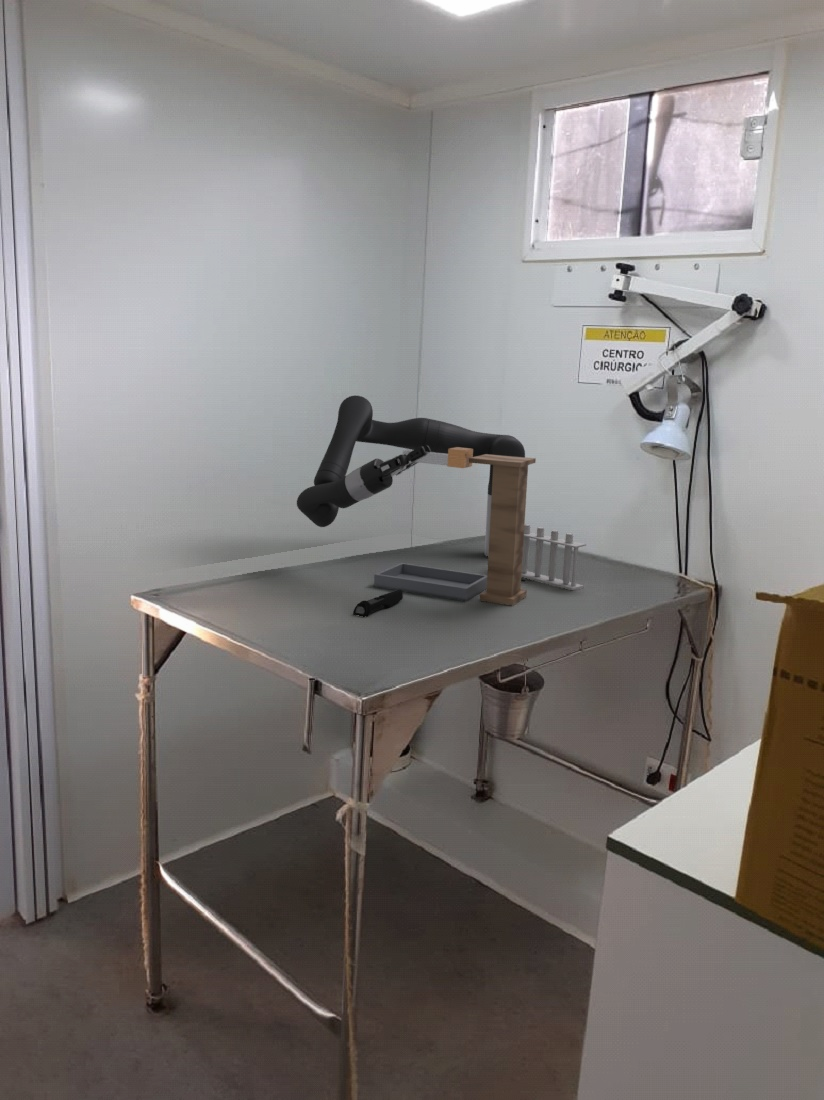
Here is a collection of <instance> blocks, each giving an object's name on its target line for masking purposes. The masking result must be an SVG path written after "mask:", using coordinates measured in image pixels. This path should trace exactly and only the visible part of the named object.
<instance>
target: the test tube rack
mask: <svg viewBox="0 0 824 1100" xmlns="http://www.w3.org/2000/svg"><path fill="white" fill-rule="evenodd" d="M559 534H560V533H559V530H557V529H552V530H551V532H550V535H545V528H544V527H543V526H538V527H537V528H536V533H535V532H531V524H529V523H527V524H524V541H523V557H522V573H521V578H522V577H524V578H523V579H525V578H527V579H526V580H529V579H530V580H529V581H533V580H535V581H534V582H537V581H538V583H540V582H542V583H541V584H544V583H546V584H545V585H548V584H549V586H551V585H553V586H552V587H555V586H557V587H556V588H559V587H561V588H560V589H563V588H565V589H564V590H566V589H569V590H568V591H570V590H574V591H578V590H581V589H580V588H582V589H584V584H583V585H582V584H580V583H577V582H576V578H577V577H576V576H577V566H578V565H577V564H578V563H577V561H578V551H579V548H580V547H581V548H582V547H586V546H587V544H586V543H582V542H578V541H573V540H574V534H573V533H571V532H567V533H566V534H565V539H564V538H559ZM530 539H534V540H535V542H536V543H535V556H534V572H532V571H529V569H528V568H529V567H528V566H529V555H530V554H529V552H530ZM544 542H547V543H549V558H548V559H549V560H548V574H547V575H545V574H542V569H543V568H542V567H543V554H544V553H543V551H544ZM558 545H561V546H564V555H563V556H564V557H563V570H562V571H563V572H562V579H560V578H557V577H556V574H557V573H556V571H557V557H558ZM572 555H573V559H572ZM572 560H573V563H572ZM571 569H572V575H571ZM570 580H571V581H570ZM577 589H578V590H577Z"/></svg>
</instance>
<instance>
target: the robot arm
mask: <svg viewBox="0 0 824 1100" xmlns="http://www.w3.org/2000/svg"><path fill="white" fill-rule="evenodd" d="M338 408H339V409H338V412H337V413H338V414H337V420H336V424H335V428H334V431H333V434H332V437H331V440H330V442H329V444H328V445H327V446H328V447H327V449H326V451H325V453H324V456H323V458H322V460H321V462H320V465H319V467H318V469H317V471H316V473H315V476H314V479H313V486H309V487H307V488H305V489H303V490H302V492H301V493H299V495H298V497H297V499H296V507H297V509H298V510H299V511H300V512H301V513H302V514H303V515H304V516H305V517H306V518H308V519H309V520H310V521H311V522H312V523H313V524H314V525H315V526H317V527H319V528H326V527H328V526H329V525H331V524H333V522H334V521H335V520H336V518H337V515H338V513H339V510H340V509H347V508H349V507H351V506H353V505H356V504H358V503H359V502H361V501H363V500H367V499H369V498H372V497H373V496H375V495H377V494H379V493H381V492H383V491H385V490H387V489H389V488H391V487H392V484H393V481H394V480H393V477H395V476H399V475H401V474H403V473H404V472H405V471H407V470H408V471H409V469H411V468H412V467H414V466H416V465H417V464H419V463H418V462H412V461H415V460H417V459H419V458H421V457H423V456H425V455H426V452H435V453H444V454H448V449H450V448H455V447H461V448H471V449H473V457H476V456H480V455H485V454H489V455H501V456H513V457H525V458H526V450H525V448H524V445H523V444H522V442H521V441H520V440H519V439H517V438H516V437H515V436H512V435H509V434H498V433H497V434H495V433H487V432H480V431H475V430H471V429H468V428H466V427H462V426H460V425H456V424H452V423H449V422H446V421H445V422H444V421H442V420H436V419H433V418H427V417H416V418H409V419H406V420H402V421H395V422H385V421H379V420H375V419H373V418H374V417H373V414H374V413H373V411H374V410H373V406H372V404H371V402H370V401H369V400H368V399H367V398H366V397H363V396H360V395H350V396H348V397H346V398H345V399H343V401H342V402H341V403H340V404H339V407H338ZM356 442H357V443H358V442H359V443H365V444H366V443H367V444H375V445H376V444H377V445H385V446H390V447H396V448H401V449H405V450H413V451H411V452H409V453H405V454H404V455H403V453H402V454H399V455H396V456H394V457H392V458H390V459H389V458H388V459H386V460H385V461H383V459H380V458H374V459H373V460H370V461H369V462H367V463H364V464H363V465H361V466H359V467H357V468H355V469H353V470H352V471H351V472H349V473H348V474H347V472H348V470H349V467H350V464H351V460H352V456H353V451H354V448H355V445H356ZM492 478H493V465H489V478H488V485H487V497H486V498H487V503H486V519H485V521H486V522H485V523H486V524H485V537H484V538H485V539H484V556H485V555H486V556H485V557H487V556H488V555H489V536H490V517H491V498H492Z"/></svg>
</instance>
